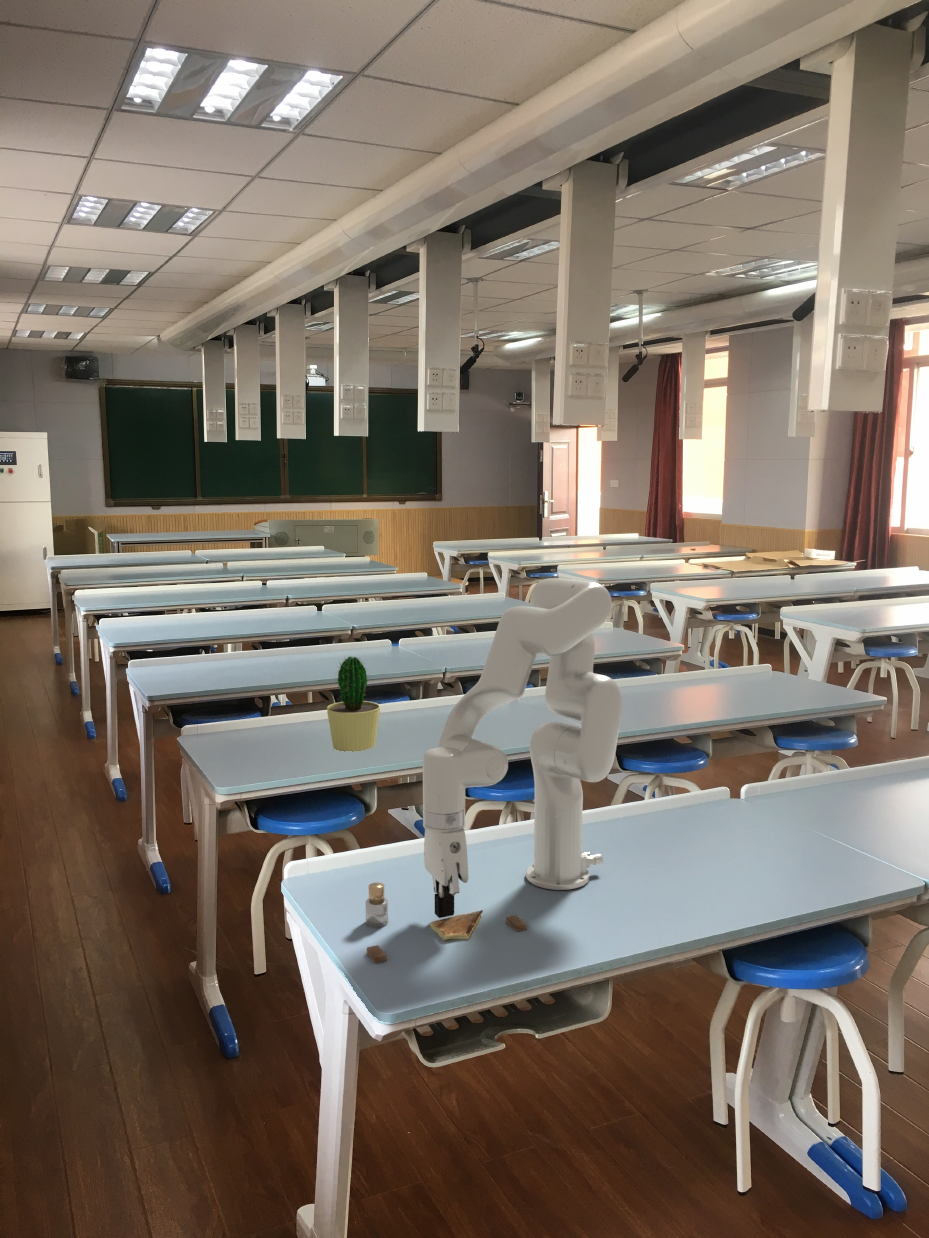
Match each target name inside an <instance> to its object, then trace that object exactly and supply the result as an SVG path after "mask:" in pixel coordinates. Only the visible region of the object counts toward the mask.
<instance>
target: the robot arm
mask: <svg viewBox="0 0 929 1238" xmlns="http://www.w3.org/2000/svg"><path fill="white" fill-rule="evenodd" d="M531 600H532V605H533V606H527V605H519V606H518V605H517V606H512V607H509V608H508V609H506V610H505V611H504V612H503V614H502V615H501V617H500V620H499V621H498V624H497V628H496V631H495V633H494V637H493V640H492V643H491V645H490V648H489V652H488V654H487V657H486V660H485V663H484V666H483V669H482V673H481V675H480V678H479V679H478V681H477V682H476V683H475V685H474V686H473V687H471V688H470V689H469V690H468V691H467V692H466V693H465V694H464V695H463V696H462V697H461V698H460V700H458V702H456V704H455V706H454V707H453V708H452V710H451V711H450V712H449V715H448V716H447V718H446V720H445V723H444V726H443V730H442V732H441V735H440V739H439V743H438V747H434V748H433V747H432V748H430V749H428V750H426V751H425V752H424V754H423V757H422V809H423V810H422V825H423V828H424V843H423V845H424V846H423V859H424V860H423V862H424V867H425V870H426V871H427V873H429V874H430V876H432V881H433V882H432V883H433V885H432V886H433V892H434V915H435V916H436V917H437V918H439V919H444V918H449V917H453V916H454V914H455V896H456V895H457V894H459V893H460V891H461V890H460V885H459V884H460V883H459V881H461V882H462V883H463V884H466V883H468V881H469V862H468V861H469V860H468V857H469V855H468V846H467V838H466V831H465V827H466V789H467V788H475V787H476V788H479V787H482V788H483V787H490V786H494V785H496V784H497V783H499V782H501V781H502V780H503V778H504V777H505V776H506V774H507V772H508V770H509V760H508V757H507V755H506V754H505V752H504V751H503V750H502V749H500V748H499V747H497V746H496V745H493V744H490V743H487V742H484V741H482V740H479V739H474V736H475V732H476V730H477V728H478V726H479V724H480V723H481V721H482V720H483V719H484V717H485V716H487V715H488V714H489V713H490V712H491V711H493V710H494V709H496V708H498V707H501V706H503V705H506V704H508V703H511V702H513V701H517V700H519V699H521V697H523V696H524V693H525V691H526V687H527V684H528V681H529V679H530V675H531V673H532V670H533V666H534V663H535V659H536V658H537V655H539V656H546V657H550V658H549V665H548V671H547V676H546V677H547V678H546V685H545V694H544V695H545V696H544V697H545V699H544V700H545V701H544V702H545V705H546V707H547V709H548V711H550V712H552V713H553V714H556V715H557V716H560V717H564V718H568V719H571V720H575V721H580V724H581V725H580V726H576V725H572V724H568V723H564V722H559V721H558V722H557V721H549V722H548V721H547V722H545V723H542V724H540V725H538V727H537V728H536V729H534V731H533V733H532V734H531V735H532V736H531V738H530V741H529V755H530V760H531V765H532V772H533V781H534V808H533V809H534V811H533V812H534V814H533V815H534V823H533V824H534V825H533V826H534V827H533V829H534V830H533V832H534V836H533V837H534V838H533V840H534V843H533V844H534V845H533V864H531V865H530V866H528V868H526V872H525V873H526V874H525V877H526V880H528V882H530V884H532V885H533V886H536V887H538V888H541V889H546V890H554V891H568V890H575V889H578V888H581V887H583V886H585V885H587V884H588V883H589V881H590V872H589V870H588V869H587V868H590V866H593V865H595V866H596V865H600V864H603V861H604V858H603V855H602V854H601V853H596V854H592V855H591V853H590V851H589V852H587V851H586V852H583V811H584V810H583V804H584V796H583V795H584V793H583V792H584V791H583V787H582V782H581V781H584V782H588V783H598V782H601V781H603V780H604V779H606V777H607V776H608V775H609V773H610V771H611V770H612V768H613V765H614V762H615V761H614V760H615V757H616V751H617V746H618V739H619V731H620V727H621V726H620V724H621V721H622V720H621V718H622V711H623V696H622V692H621V689H620V686H619V685H618V684H617V682H616V681H615V680H614V679H613V678H611V677H609V676H607V675H603V674H598V673H594V662H595V661H594V660H595V652H596V651H595V650H596V645H595V644H596V642H595V636H594V634H593V633H594V632H595V631H596V630H598V629H599V628H600V627H602V625H603V624H604V623H605V622H606V621H607V619H608V617H609V616H610V613H611V610H612V603H613V602H612V596H611V593H610V592H609V590H608V589H607V588H606V587H605V586H604V585H602V584H600V583H597V582H595V581H594V582H593V581H585V580H577V579H568V578H560V577H559V578H557V577H554V578H553V577H552V578H551V577H550V578H544V579H541V580H540V581H538V582H537V583H535V584H534V586H533V588H532V591H531Z"/></svg>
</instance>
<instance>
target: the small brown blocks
mask: <svg viewBox="0 0 929 1238" xmlns="http://www.w3.org/2000/svg"><path fill="white" fill-rule="evenodd" d="M505 919H506V920H505V922H506V924H508V926H510V927H511V928H512V929H513V930H514V931H515V932H522V931H525V930H526V931H527V930H528V924H527V923H526V921H524V920H523V919H521V918H520V917H519V916H518V915H517V914H514V915H510V916H506V918H505ZM366 954H367V955H368V956H369V957H370V959H371V960H372V962H373V963H374V964H379V963H383V962H384V963H385V962H387V954H386V952H385V951H384V950H383V949H382V948H381V947H380V945H379V944H377V945H376V944H375V945H372V946H367V947H366Z"/></svg>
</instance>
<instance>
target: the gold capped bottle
mask: <svg viewBox="0 0 929 1238" xmlns="http://www.w3.org/2000/svg"><path fill="white" fill-rule="evenodd" d="M388 924H389V901H388V899H387V898H386V897H385V884H384V883H382V882H372V883H369V885H368V899H366V900H365V925H366V926H367V927H369V928H374V929H377V928H384V927H386V926H387V925H388Z"/></svg>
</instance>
